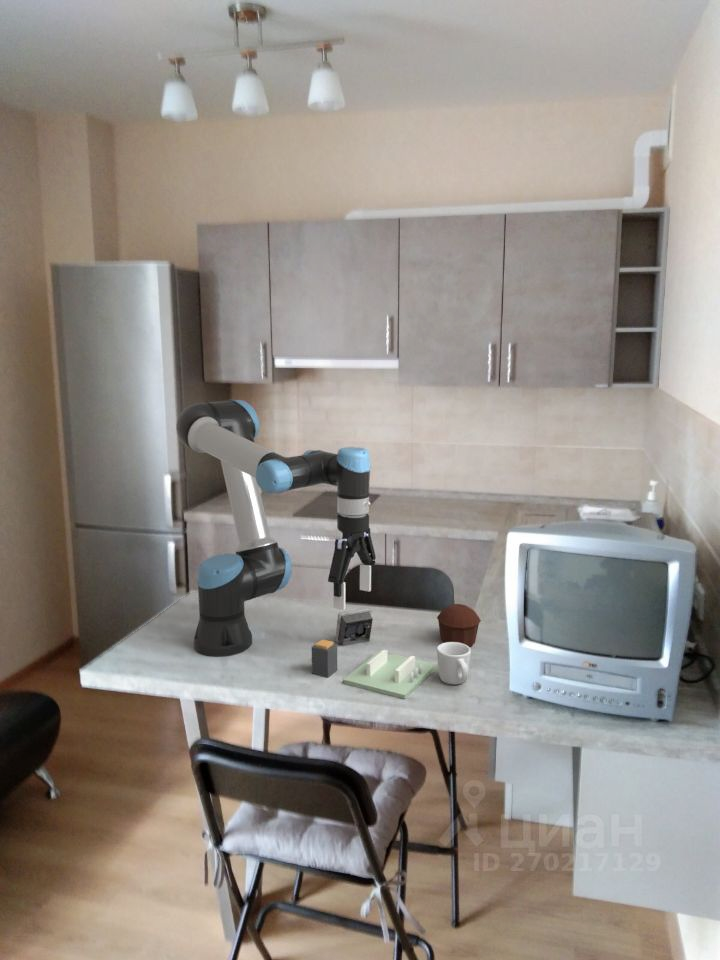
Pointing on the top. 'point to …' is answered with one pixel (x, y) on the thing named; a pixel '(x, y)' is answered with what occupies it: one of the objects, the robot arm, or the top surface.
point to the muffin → (458, 624)
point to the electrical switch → (354, 627)
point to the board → (390, 674)
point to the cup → (453, 662)
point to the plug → (324, 658)
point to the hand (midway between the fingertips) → (352, 599)
